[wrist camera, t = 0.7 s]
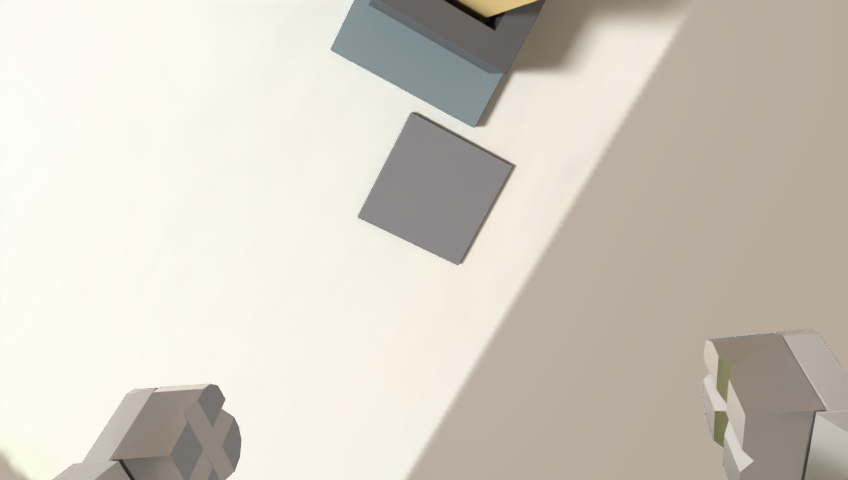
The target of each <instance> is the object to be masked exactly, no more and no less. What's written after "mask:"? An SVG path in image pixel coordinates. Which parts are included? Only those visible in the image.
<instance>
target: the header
mask: <svg viewBox="0 0 848 480" xmlns="http://www.w3.org/2000/svg"><path fill="white" fill-rule="evenodd" d="M544 2H545V0H537V1H534V2H531V3H528V4H525V5H522V6H519V7H516V8H513V9H510V10H507V11H505V12H502V13H499V14H496V15H493V16H490V17H487V18H484V19H481V20H476V19H475V18H473V17H471V16H470V15H468V14H466V13H465V12H463V11H461V10H460V9H458V8H456V7H454V6H453V5H451V4H449V3H448V2H446V1H444V0H370V3H369V5H370V6H372V7H373V8H375V9H377V10H379V11H380V12H382V13H384V14H386V15H387V16H389V17H391V18H393V19H394V20H396V21H398V22H400V23H401V24H403V25H405V26H407V27H408V28H410V29H412V30H414V31H415V32H417V33H419V34H421V35H422V36H424V37H426V38H428V39H429V40H431V41H433V42H435V43H436V44H438V45H440V46H442V47H443V48H445V49H447V50H449V51H450V52H452V53H454V54H456V55H457V56H459V57H461V58H463V59H464V60H466V61H468V62H470V63H471V64H473V65H475V66H477V67H478V68H480V69H482V70H484V71H485V72H487V73H501V74H506V73H507V72H508V70H509V68H510V66H511V64H512V62H513V60H514V58H515V56H516V55H517V53H518V51H519V49H520V47H521V45H522V43H523V41H524V40H525V38H526V36H527V34H528V32H529V30H530V28H531V26H532V25H533V23H534V21H535V19H536V17H537V15H538V13H539V11H540V10H541V8H542V6H543V4H544Z"/></svg>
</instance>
